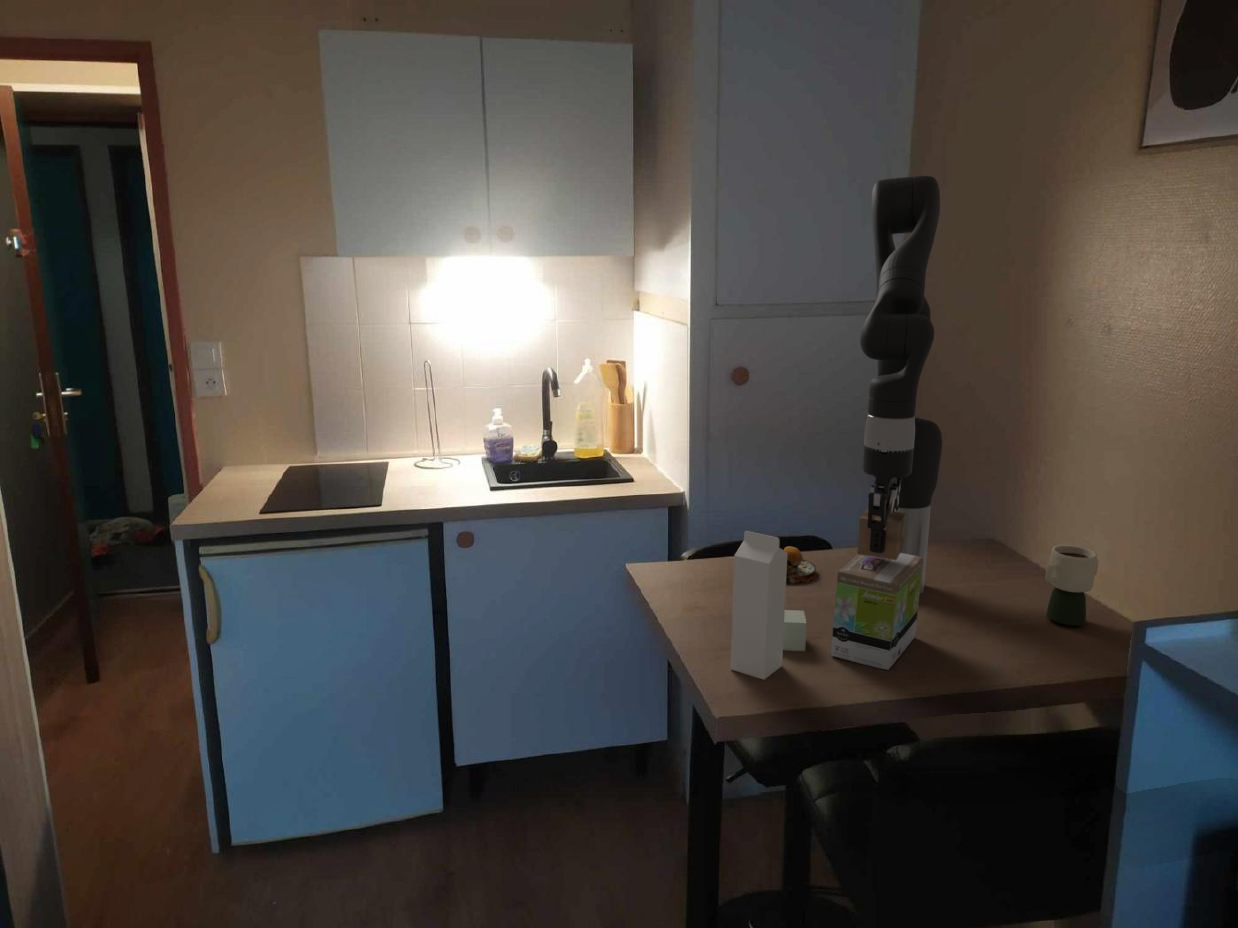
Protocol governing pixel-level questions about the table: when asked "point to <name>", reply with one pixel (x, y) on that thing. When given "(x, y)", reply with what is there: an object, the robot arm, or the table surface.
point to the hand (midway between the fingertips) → (881, 545)
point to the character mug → (1070, 583)
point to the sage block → (794, 630)
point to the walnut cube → (892, 536)
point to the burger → (798, 567)
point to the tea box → (876, 609)
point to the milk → (758, 606)
